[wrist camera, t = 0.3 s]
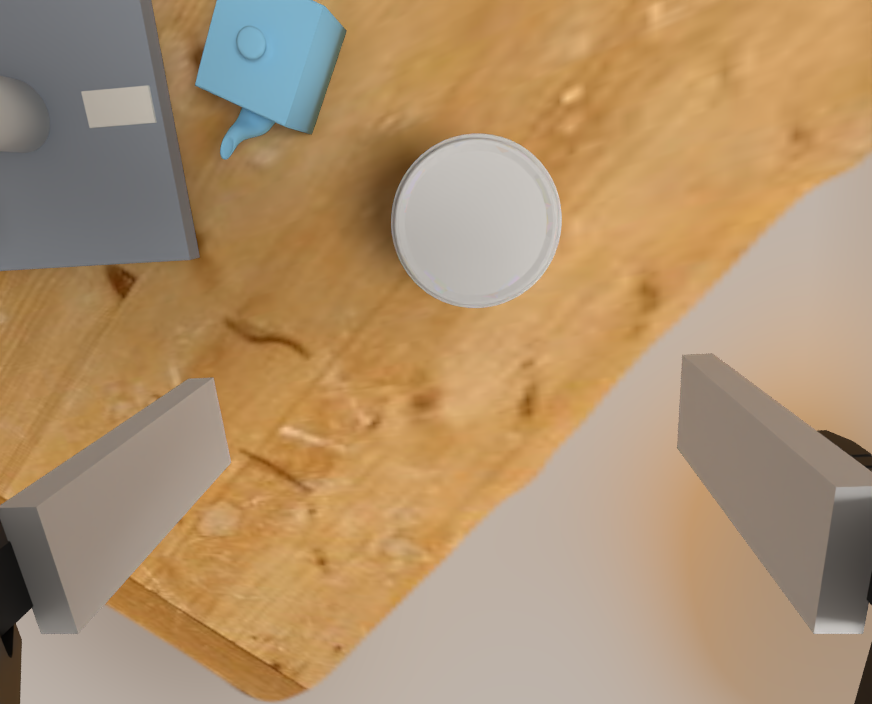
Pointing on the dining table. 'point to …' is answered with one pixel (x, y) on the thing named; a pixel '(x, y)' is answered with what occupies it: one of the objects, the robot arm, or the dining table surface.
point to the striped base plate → (87, 138)
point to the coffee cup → (476, 220)
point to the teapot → (270, 63)
